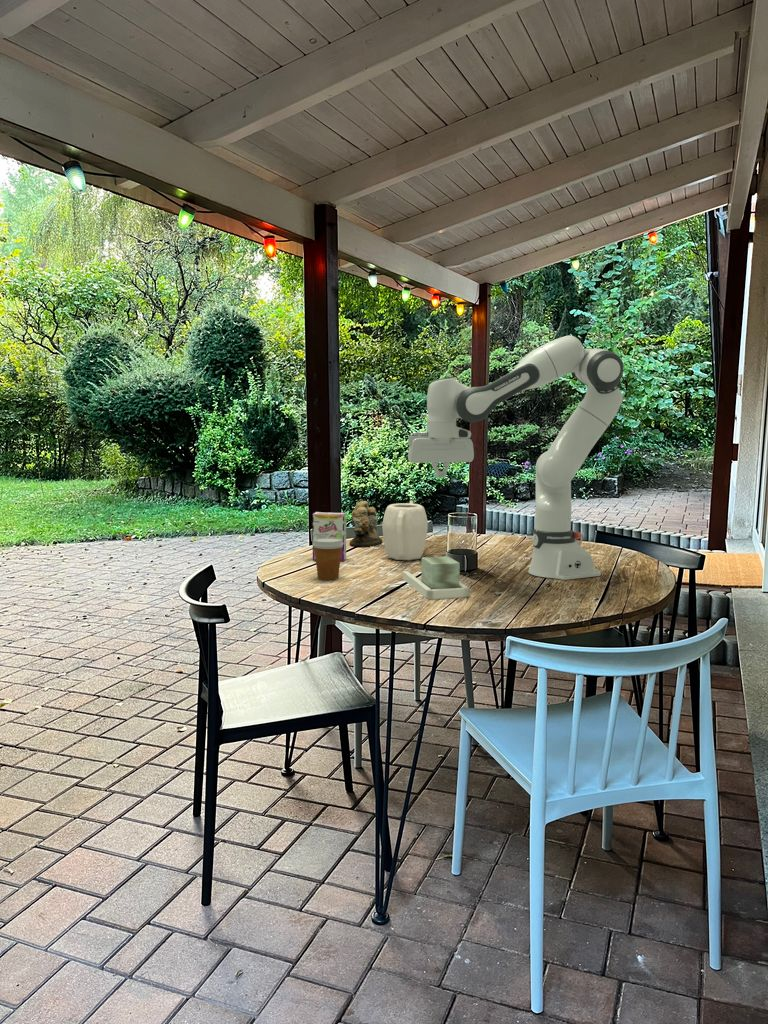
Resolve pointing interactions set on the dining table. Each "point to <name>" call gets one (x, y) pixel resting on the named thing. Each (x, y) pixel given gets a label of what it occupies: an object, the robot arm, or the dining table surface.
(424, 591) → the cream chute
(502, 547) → the dining table surface
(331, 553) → the disposable coffee cup
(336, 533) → the candy bar box
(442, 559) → the sage block
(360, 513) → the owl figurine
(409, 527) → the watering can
